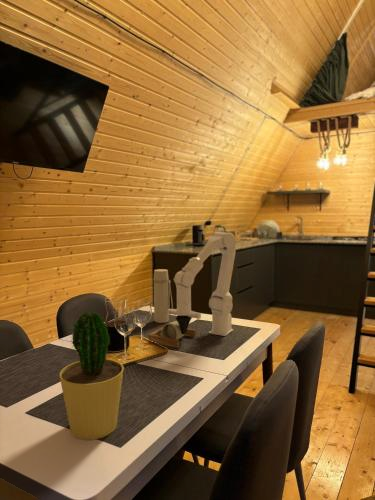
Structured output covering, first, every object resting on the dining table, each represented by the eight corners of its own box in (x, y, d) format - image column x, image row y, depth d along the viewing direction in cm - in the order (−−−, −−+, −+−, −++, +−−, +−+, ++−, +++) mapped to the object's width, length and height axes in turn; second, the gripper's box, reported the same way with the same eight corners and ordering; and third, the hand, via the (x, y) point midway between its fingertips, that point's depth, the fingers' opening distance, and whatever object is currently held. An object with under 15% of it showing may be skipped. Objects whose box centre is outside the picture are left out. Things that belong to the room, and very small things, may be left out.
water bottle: (152, 323, 183) (151, 271, 180) (156, 318, 190) (155, 268, 188) (171, 324, 181) (170, 271, 178) (174, 319, 189) (173, 269, 186)
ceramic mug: (187, 337, 162) (187, 320, 161) (177, 343, 155) (176, 325, 154) (166, 334, 168) (166, 316, 167) (155, 339, 161) (155, 321, 160)
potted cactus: (132, 412, 103) (130, 303, 100) (112, 448, 88) (108, 320, 85) (78, 408, 106) (74, 301, 102) (50, 441, 91) (44, 317, 87)
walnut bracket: (167, 331, 171) (167, 325, 170) (195, 336, 164) (195, 329, 164) (148, 342, 158) (148, 334, 157) (177, 347, 151) (177, 340, 150)
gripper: (163, 301, 156) (163, 333, 158) (195, 305, 149) (195, 339, 151) (172, 297, 162) (172, 328, 164) (203, 301, 155) (203, 333, 157)
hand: (184, 333), depth 158 cm, fingers closed
